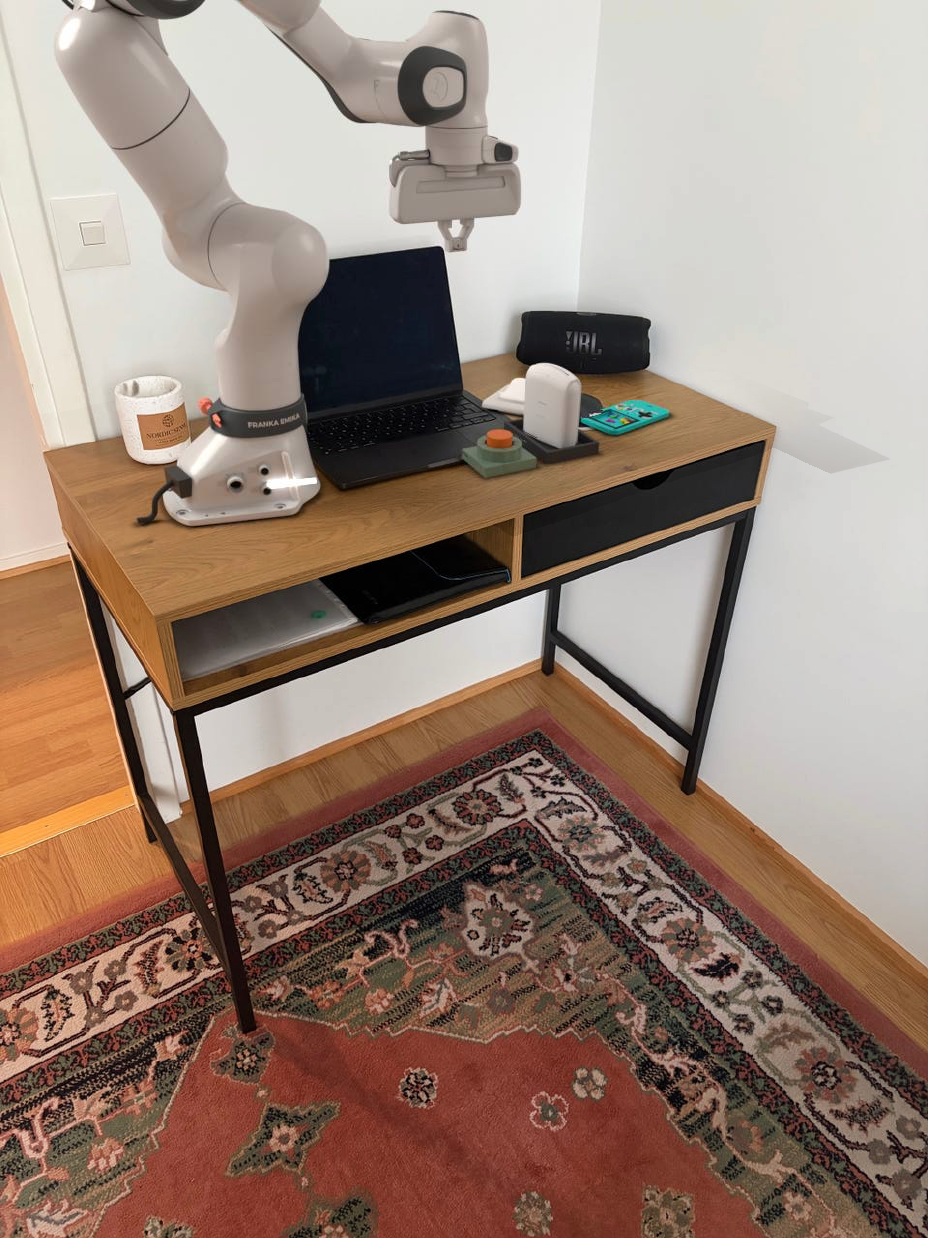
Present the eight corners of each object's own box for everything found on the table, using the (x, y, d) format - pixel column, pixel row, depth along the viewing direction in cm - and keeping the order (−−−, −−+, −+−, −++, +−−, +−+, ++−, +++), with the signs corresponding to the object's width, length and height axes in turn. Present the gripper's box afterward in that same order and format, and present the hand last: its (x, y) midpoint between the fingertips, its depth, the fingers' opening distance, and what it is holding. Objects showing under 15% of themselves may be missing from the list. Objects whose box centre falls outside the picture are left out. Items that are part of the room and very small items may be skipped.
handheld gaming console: (672, 409, 160) (615, 430, 152) (671, 415, 160) (614, 436, 152) (635, 396, 165) (578, 416, 157) (635, 402, 166) (578, 421, 157)
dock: (546, 464, 143) (547, 452, 142) (503, 432, 153) (504, 421, 152) (598, 453, 146) (599, 442, 145) (552, 423, 157) (553, 412, 156)
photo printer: (518, 433, 152) (522, 360, 145) (537, 427, 154) (541, 355, 147) (561, 453, 145) (568, 377, 138) (580, 446, 147) (587, 372, 140)
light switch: (564, 379, 166) (540, 397, 155) (561, 401, 168) (538, 420, 158) (509, 370, 169) (482, 387, 159) (507, 392, 171) (481, 410, 161)
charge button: (494, 451, 139) (494, 440, 138) (482, 442, 142) (482, 431, 141) (516, 447, 140) (517, 436, 139) (504, 438, 143) (505, 427, 142)
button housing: (485, 478, 138) (485, 456, 136) (462, 458, 144) (462, 438, 142) (536, 467, 142) (537, 446, 140) (511, 449, 147) (512, 428, 146)
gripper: (397, 154, 123) (400, 261, 130) (528, 147, 130) (524, 249, 138) (380, 148, 127) (383, 252, 135) (507, 142, 135) (504, 241, 143)
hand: (455, 250), depth 137 cm, fingers closed
